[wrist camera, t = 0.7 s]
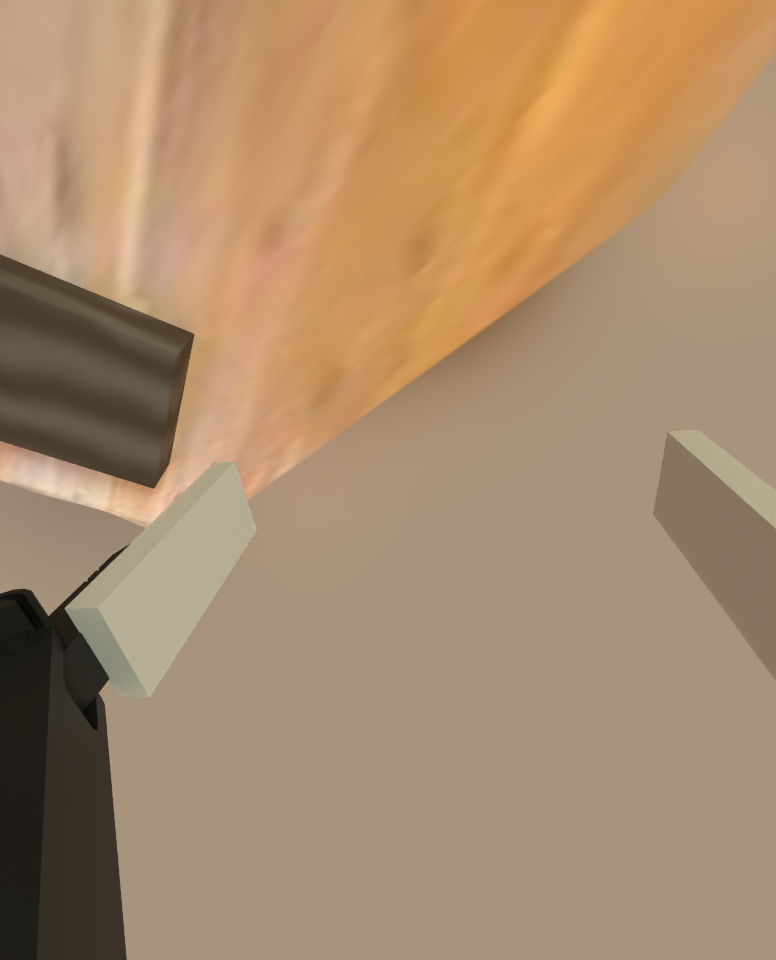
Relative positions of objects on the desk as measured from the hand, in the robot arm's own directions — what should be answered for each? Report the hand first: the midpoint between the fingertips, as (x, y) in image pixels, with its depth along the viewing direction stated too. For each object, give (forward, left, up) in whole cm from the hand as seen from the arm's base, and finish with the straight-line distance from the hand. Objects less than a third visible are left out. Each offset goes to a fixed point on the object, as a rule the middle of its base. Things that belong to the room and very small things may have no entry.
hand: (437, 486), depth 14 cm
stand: (+22, -22, -27) cm, 41 cm away
